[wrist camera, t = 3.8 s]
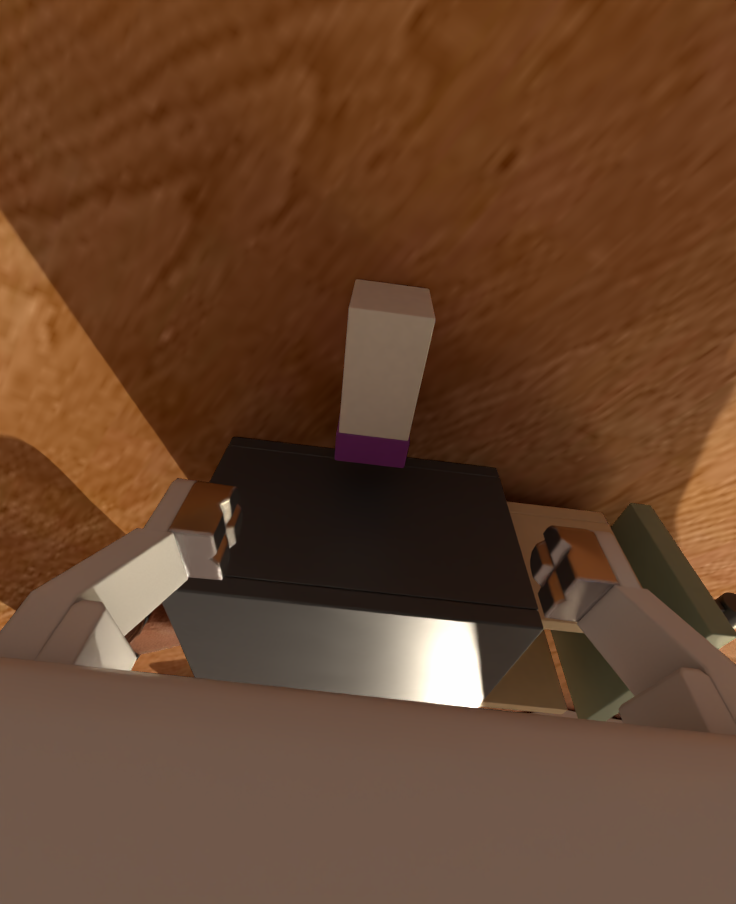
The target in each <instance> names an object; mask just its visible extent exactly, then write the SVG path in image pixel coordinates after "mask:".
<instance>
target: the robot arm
mask: <svg viewBox="0 0 736 904" xmlns="http://www.w3.org/2000/svg"><path fill="white" fill-rule="evenodd" d="M239 498H240V492H239V488H238V487H236V486H229V485H223V484H216V483H209V482H202V481H194V480H187V479H180V478H177V479H176V480H175V481H173V482H172V483H171V485H170V487H169V488H168V490H167V491H166V493H165V495H164V496H163V498H162V499H161V501H160V503H159V504H158V506H157V508H156V509H155V511H154V512H153V514H152V516H151V517H150V519H149V520H148V522H147V524H146V525H145V527H144V528H143V529H141V528H136V529H135V530H133V531H131V532H130V533H128V534H126V535H125V536H123V537H121V538H120V539H118V540H116V541H115V542H113V543H111V544H110V545H108V546H106V547H105V548H103V549H101V550H100V551H98V552H97V553H95V554H93V555H92V556H90V557H88V558H87V559H85V560H83V561H82V562H80V563H78V564H77V565H75V566H73V567H72V568H70V569H68V570H67V571H65V572H63V573H62V574H60V575H58V576H57V577H55V578H53V579H52V580H50V581H48V582H47V583H45V584H43V585H42V586H40V587H38V588H37V589H35V590H33V591H32V592H31V593H30V594H29V595H28V596H27V598H26V599H25V600H24V602H23V603H22V604H21V605H20V607H19V608H18V609H17V611H16V612H15V613H14V614H13V616H12V617H11V618H10V620H9V621H8V622H7V623H6V625H5V626H4V627H3V629H2V630H1V631H0V904H736V664H735V663H733V662H732V661H731V660H730V659H729V658H728V657H726V656H725V655H724V654H723V653H722V652H720V651H719V650H718V649H717V648H716V647H715V646H713V645H712V644H711V643H710V642H709V641H708V640H706V639H705V638H704V637H703V636H702V635H701V634H699V633H698V632H697V631H696V630H695V629H694V628H692V627H691V626H690V625H689V624H688V623H686V622H685V621H684V620H683V619H682V618H681V617H679V616H678V615H677V614H676V613H675V612H674V611H672V610H671V609H670V608H669V607H668V606H667V605H665V604H664V603H663V602H662V601H661V600H660V599H658V598H657V597H656V596H655V595H654V594H652V593H651V592H650V591H649V590H648V589H643V588H641V586H640V585H639V583H638V581H637V579H636V577H635V575H634V573H633V571H632V569H631V567H630V566H629V564H628V562H627V560H626V558H625V556H624V554H623V552H622V550H621V549H620V547H619V545H618V543H617V541H616V539H615V537H614V536H613V535H612V534H611V533H610V532H604V531H596V530H587V529H581V528H572V527H563V526H554V525H551V526H549V527H548V528H547V529H546V530H545V532H544V533H543V535H544V538H545V540H543V541H541V542H539V543H537V544H536V545H535V547H534V549H533V550H532V552H531V558H530V568H531V573H532V576H533V579H534V580H535V581H536V582H537V583H538V584H539V585H540V586H541V588H540V590H539V592H538V597H539V600H540V603H541V606H542V610H543V613H544V616H545V618H551V619H558V620H565V621H572V622H578V623H577V625H578V626H579V628H580V629H581V630H582V631H583V633H584V634H585V635H586V636H587V637H588V639H589V640H590V641H591V642H592V644H593V645H594V646H595V647H596V649H597V650H598V651H599V652H600V654H601V655H602V656H603V657H604V659H605V660H606V661H607V662H608V664H609V665H610V666H611V667H612V669H613V670H614V671H615V672H616V674H617V675H618V676H619V677H620V678H621V680H622V681H623V682H624V683H625V685H626V686H627V687H628V688H629V690H630V691H631V692H632V693H633V695H634V697H633V698H631V699H630V700H628V701H626V702H625V703H623V704H622V705H621V706H620V708H619V709H618V710H619V713H620V716H621V719H622V720H618V719H613V718H610V719H608V720H607V721H596V720H587V719H578V717H577V714H576V712H574V711H569V710H567V711H566V712H564V713H563V714H552V713H542V712H533V713H521V712H512V711H503V710H493V709H484V708H475V707H465V706H456V705H447V704H437V703H428V702H419V701H409V700H400V699H391V698H381V697H372V696H363V695H353V694H344V693H335V692H325V691H316V690H306V689H297V688H288V687H278V686H269V685H259V684H250V683H241V682H231V681H222V680H213V679H203V678H194V677H184V676H175V675H166V674H156V673H147V672H138V671H131V669H132V667H133V665H134V663H135V661H136V659H137V657H136V655H135V652H134V651H133V649H132V647H131V646H130V644H129V643H128V641H127V640H126V638H125V637H124V636H125V635H126V634H127V633H128V632H130V631H131V630H132V629H133V628H134V627H135V626H136V625H137V624H139V623H140V622H141V621H142V620H143V619H144V618H145V617H146V616H148V615H149V614H150V613H151V612H152V611H153V610H154V609H155V608H156V607H158V606H159V605H160V604H161V603H162V602H163V601H164V600H165V599H167V598H168V597H169V596H170V595H171V594H172V593H173V592H174V591H175V590H177V589H178V588H179V587H180V586H181V585H182V584H183V583H184V582H186V581H187V580H188V577H191V578H202V579H213V580H223V577H224V574H225V572H226V569H227V567H228V564H229V561H230V559H231V555H230V549H229V548H230V547H232V546H233V545H234V544H236V543H237V540H238V537H239V535H240V531H241V526H242V515H243V514H242V508H241V507H240V506H239V505H238V504H237V503H238V501H239Z"/></svg>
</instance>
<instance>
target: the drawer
mask: <svg viewBox="0 0 736 904" xmlns="http://www.w3.org/2000/svg"><path fill="white" fill-rule="evenodd" d="M507 505H508V508H509V511H510V515H511V518H512V522H513V525H514V528H515V532H516V535H517V538H518V542H519V545H520V548H521V552H522V555H523V559H524V562H525V565H526V569H527V572H528V575H529V579H530V582H531V585H532V589H533V592H534V596H535V599H536V602H537V606H538V611H539V614H540V617H541V621H542V624H543V631H542V632H541V633H540V634H539V636H538V637H537V638H536V639H535V640H534V641H533V643H532V644H531V645H530V646H529V647H528V648H527V650H526V651H525V652H524V653H523V654H522V656H521V657H520V658H519V659H518V660H517V661H516V663H515V664H514V665H513V666H512V667H511V669H510V670H509V671H508V672H507V673H506V674H505V676H504V677H503V678H502V679H501V680H500V681H499V683H498V684H497V685H496V686H495V687H494V689H493V690H492V691H491V692H490V693H489V694H488V696H487V697H486V698H485V699H484V700H483V701H482V703H481V704H480V705H479V706H481V707H491V708H502V709H512V710H522V711H532V712H542V713H552V714H563V713H564V712H566V711H567V706H566V703H565V700H564V696H563V693H562V689H561V686H560V683H559V679H558V676H557V673H556V669H555V666H554V662H553V659H552V656H551V652H550V649H549V646H548V642H547V639H546V635H545V632H544V629H548V630H551V633H552V636H553V639H554V643H555V646H556V649H557V652H558V655H559V659H560V662H561V665H562V668H563V672H564V675H565V678H566V681H567V685H568V688H569V691H570V694H571V698H572V701H573V704H574V707H575V711H576V714H577V717H578V719H587V720H596V721H607V720H608V719H610V718H611V717H613V716H615V715H616V714H618V713H619V710H618V709H619V708H620V706H621V705H622V704H623V703H625V702H626V701H628V700H630V699H631V698H633V697H634V695H633V693H632V692H631V691H630V690H629V688H628V687H627V686H626V685H625V683H624V682H623V681H622V680H621V678H620V677H619V676H618V675H617V674H616V672H615V671H614V670H613V669H612V667H611V666H610V665H609V664H608V662H607V661H606V660H605V659H604V657H603V656H602V655H601V654H600V652H599V651H598V650H597V649H596V647H595V646H594V645H593V644H592V642H591V641H590V640H589V639H588V637H587V636H586V635H585V634H584V633H583V631H582V630H581V629H580V628H579V626H578V625H577V623H578V622H572V621H565V620H558V619H551V618H545V616H544V613H543V610H542V606H541V603H540V600H539V597H538V592H539V590H540V588H541V586H540V585H539V584H538V583H537V582H536V581H535V580H534V579H533V576H532V573H531V568H530V558H531V552H532V550H533V549H534V547H535V545H536V544H537V543H539V542H541V541H543V540H545V538H544V535H543V533H544V532H545V530H546V529H547V528H548V527H549V526H551V525H554V526H563V527H572V528H581V529H587V530H596V531H604V532H610V533H611V534H612V535H613V536H614V537H615V539H616V541H617V543H618V545H619V547H620V549H621V550H622V552H623V554H624V556H625V558H626V560H627V562H628V564H629V566H630V567H631V569H632V571H633V573H634V575H635V577H636V579H637V581H638V583H639V585H640V586H641V588H643V589H648V590H649V591H650V592H651V593H652V594H654V595H655V596H656V597H657V598H658V599H660V600H661V601H662V602H663V603H664V604H665V605H667V606H668V607H669V608H670V609H671V610H672V611H674V612H675V613H676V614H677V615H678V616H679V617H681V618H682V619H683V620H684V621H685V622H686V623H688V624H689V625H690V626H691V627H692V628H694V629H695V630H696V631H697V632H698V633H699V634H701V635H702V636H703V637H704V638H705V639H706V640H708V641H709V642H710V643H711V644H712V645H713V646H715V647H716V648H717V649H720V648H721V647H723V646H724V645H726V644H727V643H729V642H731V641H732V640H734V639H735V638H736V632H735V630H734V629H735V628H736V594H734V593H724V594H722V595H721V596H720V597H718V598H717V599H716V600H714V599H713V598H712V596H711V595H710V593H709V592H708V590H707V589H706V587H705V586H704V584H703V583H702V581H701V580H700V578H699V577H698V575H697V574H696V572H695V571H694V569H693V568H692V566H691V565H690V563H689V562H688V560H687V559H686V557H685V556H684V554H683V553H682V551H681V550H680V548H679V547H678V546H677V544H676V543H675V541H674V540H673V538H672V537H671V535H670V534H669V532H668V531H667V529H666V528H665V526H664V525H663V523H662V522H661V520H660V519H659V517H658V516H657V514H656V513H655V511H654V510H653V508H652V507H651V506H650V505H644V504H635V503H630V504H629V505H628V506H627V508H626V509H625V510H624V511H623V513H622V514H621V515H620V516H619V518H618V519H617V520H616V521H615V523H614V524H613V525H612V526H611V528H610V526H609V524H608V522H607V520H606V518H605V516H604V515H603V513H601V512H592V511H584V510H575V509H567V508H558V507H549V506H541V505H532V504H524V503H515V502H507Z"/></svg>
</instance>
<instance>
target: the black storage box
mask: <svg viewBox="0 0 736 904" xmlns="http://www.w3.org/2000/svg"><path fill="white" fill-rule="evenodd" d="M334 458H335V449H332V448H323V447H315V446H307V445H298V444H290V443H281V442H273V441H264V440H256V439H248V438H239V437H233V438H232V440H231V442H230V444H229V446H228V447H227V449H226V451H225V453H224V455H223V457H222V459H221V461H220V463H219V465H218V467H217V468H216V470H215V472H214V474H213V476H212V478H211V480H210V482H209V483H216V484H223V485H229V486H236V487H238V488H239V492H240V498H239V501H238V503H237V504H238V505H239V506H240V507H241V508H242V514H243V515H242V526H241V531H240V535H239V537H238V540H237V543H236V544H234V545H233V546H232V547H230V548H229V549H230V555H231V559H230V561H229V564H228V567H227V569H226V572H225V574H224V577H223V580H213V579H202V578H191V577H188V580H187V581H186V582H184V583H183V584H182V585H181V586H180V587H179V588H178V589H177V590H175V591H174V592H173V593H172V594H171V595H170V596H169V597H168V598H167V599H165V600H164V601H163V602H162V604H163V606H164V609H165V611H166V613H167V615H168V618H169V620H170V622H171V625H172V627H173V629H174V631H175V634H176V636H177V638H178V640H179V643H180V645H181V647H182V649H183V652H184V654H185V656H186V659H187V661H188V663H189V665H190V668H191V670H192V672H193V674H194V677H195V678H203V679H213V680H222V681H231V682H241V683H250V684H259V685H269V686H278V687H288V688H297V689H306V690H316V691H325V692H335V693H344V694H353V695H363V696H372V697H381V698H391V699H400V700H409V701H419V702H428V703H437V704H447V705H456V706H465V707H475V708H477V707H478V706H479V705H480V704H481V703H482V701H483V700H484V699H485V698H486V697H487V696H488V694H489V693H490V692H491V691H492V690H493V689H494V687H495V686H496V685H497V684H498V683H499V681H500V680H501V679H502V678H503V677H504V676H505V674H506V673H507V672H508V671H509V670H510V669H511V667H512V666H513V665H514V664H515V663H516V661H517V660H518V659H519V658H520V657H521V656H522V654H523V653H524V652H525V651H526V650H527V648H528V647H529V646H530V645H531V644H532V643H533V641H534V640H535V639H536V638H537V637H538V636H539V634H540V633H541V632H542V631H543V624H542V621H541V617H540V614H539V611H538V606H537V602H536V599H535V596H534V592H533V589H532V585H531V582H530V579H529V575H528V572H527V569H526V565H525V562H524V559H523V555H522V552H521V548H520V545H519V542H518V538H517V535H516V532H515V528H514V525H513V522H512V518H511V515H510V511H509V508H508V505H507V501H506V498H505V495H504V491H503V488H502V485H501V481H500V478H499V475H498V472H497V469H496V468H492V467H483V466H475V465H466V464H458V463H449V462H441V461H433V460H424V459H416V458H407V457H406V462H405V466H404V468H397V467H389V466H380V465H372V464H363V463H355V462H346V461H338V460H335V459H334Z"/></svg>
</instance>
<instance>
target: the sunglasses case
mask: <svg viewBox="0 0 736 904" xmlns="http://www.w3.org/2000/svg"><path fill="white" fill-rule="evenodd" d="M124 637H125V638H126V640H127V641H128V643H129V644H130V646H131V647H132V649H133V651H134V652H135V655H136V657H137V659H138V658H139V656H140V655H141V654H145V653H150V652H155V651H160V650H163V649H169V648H172V647H175V646H179V645H180V643H179V640H178V638H177V636H176V634H175V631H174V629H173V627H172V625H171V622H170V620H169V618H168V615H167V613H166V611H165V609H164V606H163V604H162V603H161V604H160V605H159V606H158V607H156V608H155V609H154V610H153V611H152V612H151V613H150V614H149V615H148V616H146V617H145V618H144V619H143V620H142V621H141V622H140V623H139V624H137V625H136V626H135V627H134V628H133V629H132V630H131V631H130V632H128V633H127V634H126V635H125V636H124ZM137 659H136V660H137Z"/></svg>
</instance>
